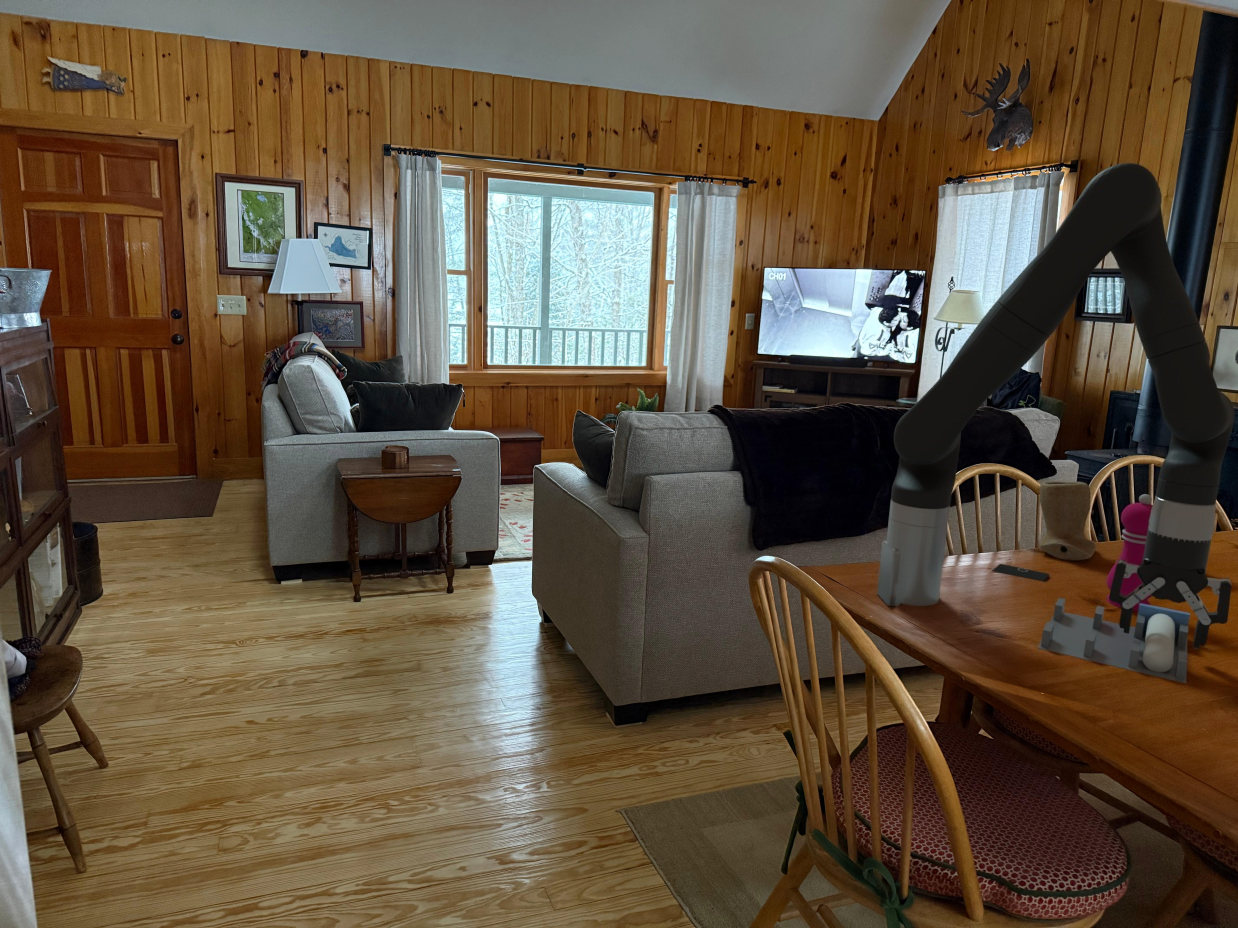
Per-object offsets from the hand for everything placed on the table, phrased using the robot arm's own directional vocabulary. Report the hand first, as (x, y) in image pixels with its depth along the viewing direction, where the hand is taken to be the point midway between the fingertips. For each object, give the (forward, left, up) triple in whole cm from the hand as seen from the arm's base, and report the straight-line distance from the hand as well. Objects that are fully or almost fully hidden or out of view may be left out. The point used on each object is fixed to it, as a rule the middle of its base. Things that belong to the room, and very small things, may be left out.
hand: (1160, 639), depth 120 cm
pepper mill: (+8, +21, -3) cm, 22 cm away
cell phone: (-6, +33, -4) cm, 33 cm away
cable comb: (-5, +3, -3) cm, 6 cm away
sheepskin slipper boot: (+14, +54, -3) cm, 55 cm away
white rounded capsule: (0, 0, -2) cm, 2 cm away
